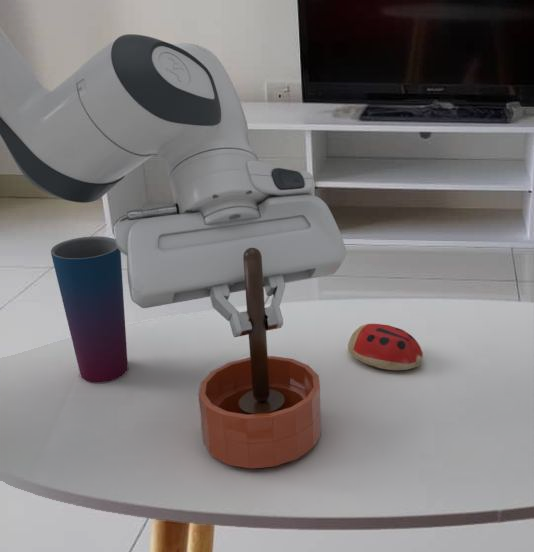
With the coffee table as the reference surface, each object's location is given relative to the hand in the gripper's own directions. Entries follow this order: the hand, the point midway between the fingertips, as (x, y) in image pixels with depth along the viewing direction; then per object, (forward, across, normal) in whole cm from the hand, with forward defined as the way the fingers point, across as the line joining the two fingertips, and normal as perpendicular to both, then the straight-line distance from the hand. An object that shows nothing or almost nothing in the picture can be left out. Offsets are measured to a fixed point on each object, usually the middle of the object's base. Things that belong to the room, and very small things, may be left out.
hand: (259, 330), depth 68 cm
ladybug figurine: (+2, +18, +16) cm, 24 cm away
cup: (-6, -12, +23) cm, 27 cm away
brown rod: (+6, 0, +7) cm, 9 cm away
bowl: (+8, 0, +9) cm, 12 cm away
